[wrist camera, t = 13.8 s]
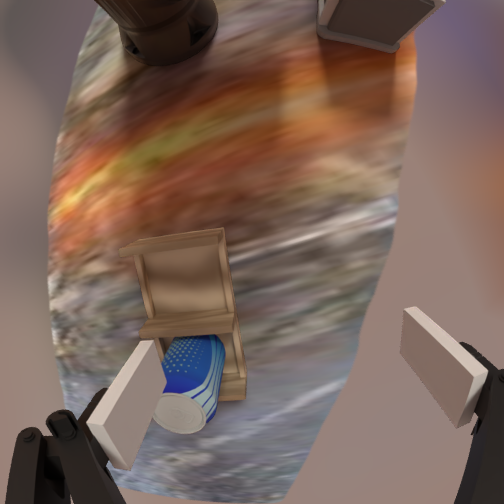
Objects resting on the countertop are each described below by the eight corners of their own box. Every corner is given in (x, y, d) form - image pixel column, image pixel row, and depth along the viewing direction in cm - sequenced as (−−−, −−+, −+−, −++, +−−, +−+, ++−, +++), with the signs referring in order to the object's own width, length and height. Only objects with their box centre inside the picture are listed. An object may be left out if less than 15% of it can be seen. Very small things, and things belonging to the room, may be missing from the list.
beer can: (190, 375, 46) (168, 443, 31) (163, 334, 45) (127, 396, 29) (235, 359, 45) (227, 430, 30) (210, 315, 44) (189, 378, 28)
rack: (138, 239, 43) (118, 249, 36) (223, 227, 42) (217, 235, 35) (172, 376, 48) (161, 401, 41) (246, 372, 47) (245, 399, 40)
